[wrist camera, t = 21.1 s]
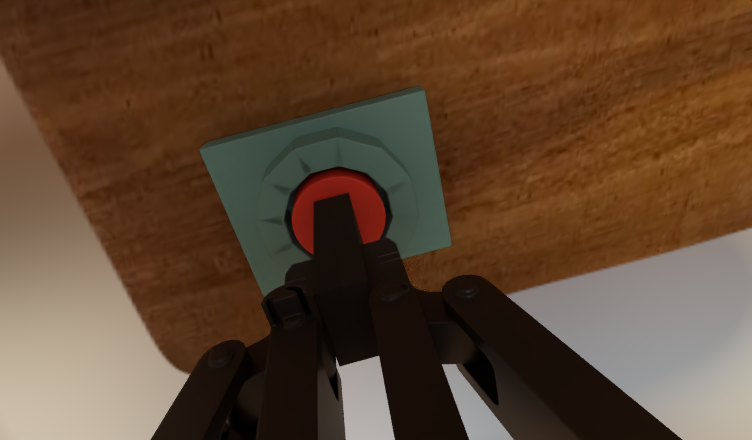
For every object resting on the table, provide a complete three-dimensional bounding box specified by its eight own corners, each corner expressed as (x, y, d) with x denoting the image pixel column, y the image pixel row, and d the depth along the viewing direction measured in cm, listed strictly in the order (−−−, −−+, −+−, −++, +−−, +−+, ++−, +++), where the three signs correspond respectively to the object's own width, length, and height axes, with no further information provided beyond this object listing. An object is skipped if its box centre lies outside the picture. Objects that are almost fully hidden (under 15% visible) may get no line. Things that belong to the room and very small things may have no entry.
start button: (308, 252, 20) (308, 271, 19) (281, 176, 19) (278, 191, 17) (388, 230, 21) (394, 248, 19) (369, 153, 19) (374, 165, 17)
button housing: (265, 284, 23) (259, 320, 20) (204, 142, 19) (187, 162, 16) (445, 235, 23) (463, 264, 20) (418, 85, 19) (435, 96, 17)
